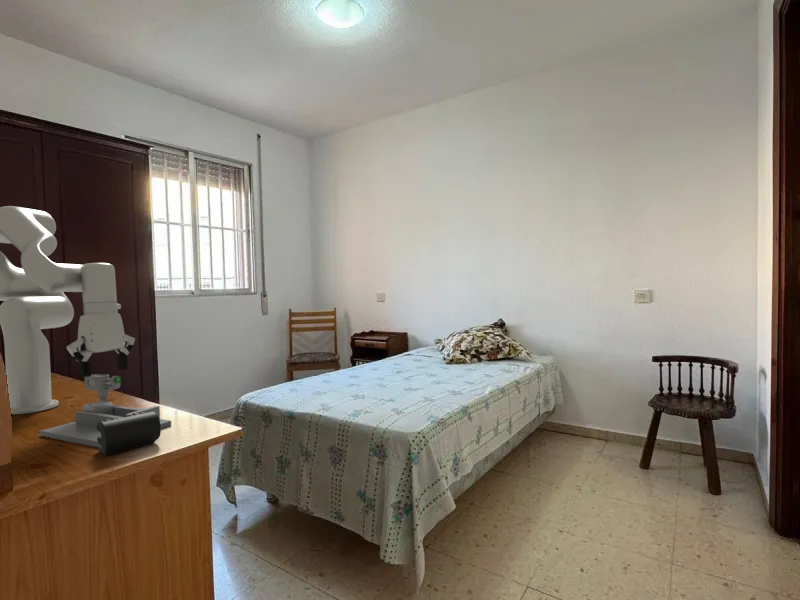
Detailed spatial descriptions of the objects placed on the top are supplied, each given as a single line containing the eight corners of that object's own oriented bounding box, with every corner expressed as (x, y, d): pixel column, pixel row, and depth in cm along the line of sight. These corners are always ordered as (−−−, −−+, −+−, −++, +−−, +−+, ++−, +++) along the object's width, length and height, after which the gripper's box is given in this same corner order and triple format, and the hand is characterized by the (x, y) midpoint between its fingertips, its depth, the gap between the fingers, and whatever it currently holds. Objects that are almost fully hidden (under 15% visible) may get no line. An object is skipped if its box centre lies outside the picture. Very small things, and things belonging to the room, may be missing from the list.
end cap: (106, 460, 85) (105, 425, 84) (95, 452, 89) (94, 418, 89) (161, 445, 92) (160, 413, 92) (148, 438, 97) (147, 408, 97)
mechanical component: (115, 414, 116) (114, 377, 116) (83, 413, 118) (81, 376, 118) (124, 411, 119) (123, 374, 119) (92, 410, 121) (91, 374, 121)
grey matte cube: (83, 421, 106) (82, 404, 106) (102, 416, 110) (101, 400, 110) (94, 423, 104) (93, 406, 104) (112, 417, 108) (112, 401, 108)
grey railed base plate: (40, 436, 100) (39, 413, 99) (111, 416, 114) (110, 396, 114) (103, 448, 91) (102, 423, 91) (171, 425, 106) (170, 404, 105)
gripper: (122, 308, 127) (126, 366, 127) (56, 311, 111) (60, 379, 112) (140, 307, 124) (144, 367, 124) (74, 310, 108) (79, 380, 109)
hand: (105, 372), depth 118 cm, fingers open, 9 cm apart
